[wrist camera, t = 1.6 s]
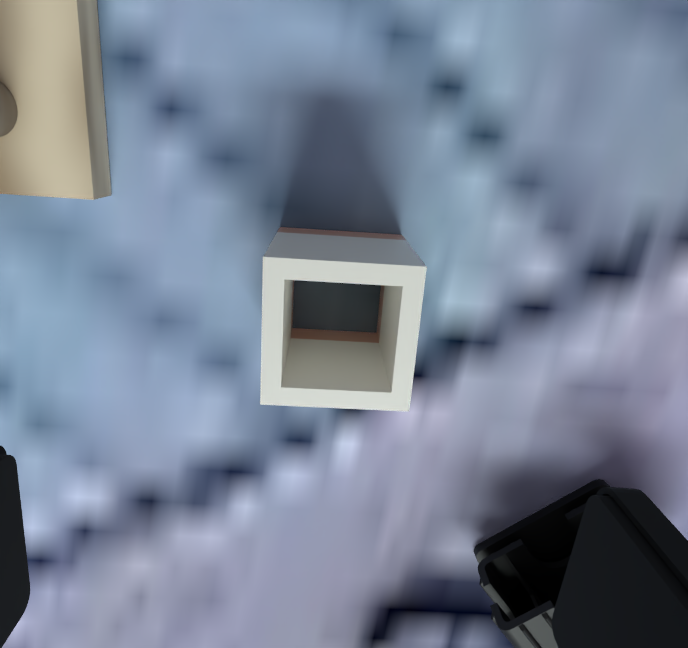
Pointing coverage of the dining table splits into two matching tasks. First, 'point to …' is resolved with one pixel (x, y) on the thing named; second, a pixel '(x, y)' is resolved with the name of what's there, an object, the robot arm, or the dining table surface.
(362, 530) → the dining table surface
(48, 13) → the pin board
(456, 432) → the dining table surface
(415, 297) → the sleeve
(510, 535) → the end cap
